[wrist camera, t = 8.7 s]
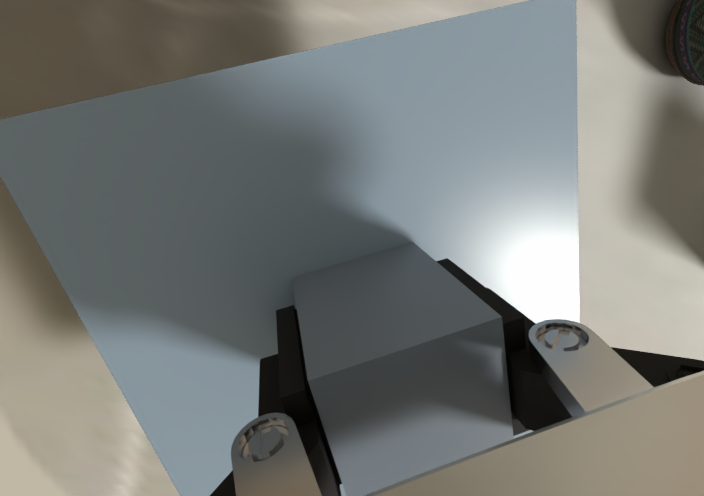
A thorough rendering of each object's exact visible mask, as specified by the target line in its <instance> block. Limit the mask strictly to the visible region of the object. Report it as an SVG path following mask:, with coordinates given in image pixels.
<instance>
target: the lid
mask: <svg viewBox="0 0 704 496" xmlns="http://www.w3.org/2000/svg"><path fill="white" fill-rule="evenodd" d="M0 177H1V179H2V181H3V182H4V184H5V186H6V188H7V189H8V191H9V193H10V195H11V197H12V198H13V200H14V202H15V204H16V205H17V207H18V209H19V211H20V213H21V214H22V216H23V218H24V220H25V221H26V223H27V225H28V227H29V229H30V230H31V232H32V234H33V236H34V237H35V239H36V241H37V243H38V244H39V246H40V248H41V250H42V252H43V253H44V255H45V257H46V259H47V260H48V262H49V264H50V266H51V268H52V269H53V271H54V273H55V275H56V276H57V278H58V280H59V282H60V283H61V285H62V287H63V289H64V291H65V292H66V294H67V296H68V298H69V299H70V301H71V303H72V305H73V307H74V308H75V310H76V312H77V314H78V315H79V317H80V319H81V321H82V323H83V324H84V326H85V328H86V330H87V331H88V333H89V335H90V337H91V338H92V340H93V342H94V344H95V346H96V347H97V349H98V351H99V353H100V354H101V356H102V358H103V360H104V362H105V363H106V365H107V367H108V369H109V370H110V372H111V374H112V376H113V377H114V379H115V381H116V383H117V385H118V386H119V388H120V390H121V392H122V393H123V395H124V397H125V399H126V401H127V402H128V404H129V406H130V408H131V409H132V411H133V413H134V415H135V417H136V418H137V420H138V422H139V424H140V425H141V427H142V429H143V431H144V432H145V434H146V436H147V438H148V440H149V441H150V443H151V445H152V447H153V448H154V450H155V452H156V454H157V456H158V457H159V459H160V461H161V463H162V464H163V466H164V468H165V470H166V471H167V473H168V475H169V477H170V479H171V480H172V482H173V484H174V486H175V487H176V489H177V491H178V493H179V495H180V496H210V495H211V494H212V493H213V491H214V490H215V489H216V488H217V487H218V486H219V485H220V484H221V482H222V481H223V480H224V479H225V478H226V477H227V476H228V475H229V474H230V472H231V471H232V470H233V468H232V461H231V446H232V444H233V441H234V439H235V437H236V436H237V434H238V433H239V432H240V430H241V429H242V428H243V427H245V426H246V425H247V424H248V423H249V422H251V421H252V420H254V419H256V418H257V417H258V406H259V373H260V360H261V359H262V358H266V357H269V356H272V355H275V354H278V342H277V320H276V310H279V309H282V308H285V307H288V306H292V305H294V307H295V309H297V314H298V320H299V327H300V333H301V340H302V346H303V353H304V359H305V366H306V372H307V378H308V383H309V386H310V389H311V392H312V395H313V398H314V401H315V404H316V407H317V410H318V413H319V416H320V419H321V422H322V425H323V428H324V431H325V434H326V437H327V440H328V443H329V446H330V449H331V452H332V455H333V457H334V460H335V463H336V466H337V469H338V472H339V475H340V478H341V481H342V484H340V490H341V495H342V496H363V495H366V494H368V493H371V492H374V491H376V490H379V489H381V488H384V487H387V486H389V485H392V484H395V483H397V482H400V481H403V480H405V479H408V478H410V477H413V476H416V475H418V474H421V473H424V472H426V471H429V470H432V469H434V468H437V467H440V466H442V465H445V464H448V463H450V462H453V461H456V460H458V459H461V458H464V457H466V456H469V455H472V454H474V453H477V452H480V451H482V450H485V449H488V448H490V447H493V446H496V445H498V444H501V443H504V442H507V441H509V440H512V439H515V438H517V437H520V436H523V435H525V434H528V433H531V432H533V431H532V430H529V431H526V432H523V433H521V434H518V435H515V436H513V427H512V416H511V406H510V396H509V385H508V375H507V364H506V354H505V343H504V333H503V323H502V316H500V315H499V314H498V313H497V312H496V311H494V310H493V309H492V308H491V307H490V306H489V305H487V304H486V303H485V302H484V301H483V300H481V299H480V298H479V297H478V296H477V295H475V294H474V293H473V292H472V291H471V290H470V289H468V288H467V287H466V286H465V285H464V284H462V283H461V282H460V281H459V280H458V279H456V278H455V277H454V276H453V275H452V274H451V273H449V272H448V271H447V270H446V269H445V268H443V267H442V266H441V265H440V264H439V263H437V262H436V261H439V260H443V259H446V258H448V259H449V260H451V261H452V262H453V263H455V264H456V265H457V266H458V267H460V268H461V269H462V270H464V271H465V272H466V273H468V274H469V275H470V276H471V277H473V278H474V279H475V280H477V281H478V282H479V283H480V284H482V285H483V286H484V287H486V288H489V289H491V290H492V291H494V292H495V293H496V294H497V295H499V296H500V297H501V298H503V299H504V300H505V301H507V302H508V303H509V304H511V305H512V306H513V307H515V308H516V309H517V310H518V311H520V312H521V313H522V314H524V315H525V316H526V317H528V318H529V319H530V320H532V321H533V322H534V323H536V324H537V323H539V322H542V321H545V320H552V319H564V320H570V321H575V322H578V323H579V232H578V134H577V36H576V0H529V1H525V2H521V3H516V4H512V5H507V6H503V7H498V8H494V9H489V10H485V11H480V12H476V13H472V14H467V15H463V16H458V17H454V18H449V19H445V20H440V21H436V22H431V23H427V24H423V25H418V26H414V27H409V28H405V29H400V30H396V31H391V32H387V33H382V34H378V35H374V36H369V37H365V38H360V39H356V40H351V41H347V42H342V43H338V44H333V45H329V46H324V47H320V48H316V49H311V50H307V51H302V52H298V53H293V54H289V55H284V56H280V57H275V58H271V59H267V60H262V61H258V62H253V63H249V64H244V65H240V66H235V67H231V68H226V69H222V70H218V71H213V72H209V73H204V74H200V75H195V76H191V77H186V78H182V79H177V80H173V81H169V82H164V83H160V84H155V85H151V86H146V87H142V88H137V89H133V90H128V91H124V92H120V93H115V94H111V95H106V96H102V97H97V98H93V99H88V100H84V101H79V102H75V103H70V104H66V105H62V106H57V107H53V108H48V109H44V110H39V111H35V112H30V113H26V114H21V115H17V116H13V117H8V118H4V119H0Z"/></svg>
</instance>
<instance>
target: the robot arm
mask: <svg viewBox="0 0 704 496" xmlns="http://www.w3.org/2000/svg"><path fill="white" fill-rule="evenodd" d="M436 262H437V263H439V264H440V265H441V266H442V267H443V268H445V269H446V270H447V271H448V272H449V273H451V274H452V275H453V276H454V277H455V278H456V279H458V280H459V281H460V282H461V283H462V284H464V285H465V286H466V287H467V288H468V289H470V290H471V291H472V292H473V293H474V294H475V295H477V296H478V297H479V298H480V299H481V300H483V301H484V302H485V303H486V304H487V305H489V306H490V307H491V308H492V309H493V310H494V311H496V312H497V313H498V314H499V315H500V316H502V323H503V333H504V343H505V354H506V364H507V375H508V385H509V396H510V406H511V416H512V427H513V436H515V435H518V434H521V433H523V432H526V431H529V430H532V431H533V432H531V433H528V434H525V435H523V436H520V437H517V438H515V439H512V440H509V441H507V442H504V443H501V444H498V445H496V446H493V447H490V448H488V449H485V450H482V451H480V452H477V453H474V454H472V455H469V456H466V457H464V458H461V459H458V460H456V461H453V462H450V463H448V464H445V465H442V466H440V467H437V468H434V469H432V470H429V471H426V472H424V473H421V474H418V475H416V476H413V477H410V478H408V479H405V480H403V481H400V482H397V483H395V484H392V485H389V486H387V487H384V488H381V489H379V490H376V491H374V492H371V493H368V494H366V495H363V496H704V361H701V360H696V359H689V358H682V357H675V356H668V355H661V354H654V353H647V352H640V351H633V350H626V349H619V348H612V347H610V346H609V345H607V344H606V343H605V342H604V341H603V340H602V339H601V338H600V337H599V336H598V335H597V334H595V333H594V332H593V331H592V330H591V329H589V328H588V327H586V326H585V325H583V324H580V323H578V322H575V321H570V320H564V319H552V320H545V321H542V322H539V323H537V324H536V323H534V322H533V321H532V320H530V319H529V318H528V317H526V316H525V315H524V314H522V313H521V312H520V311H518V310H517V309H516V308H515V307H513V306H512V305H511V304H509V303H508V302H507V301H505V300H504V299H503V298H501V297H500V296H499V295H497V294H496V293H495V292H494V291H492V290H491V289H489V288H486V287H484V286H483V285H482V284H480V283H479V282H478V281H477V280H475V279H474V278H473V277H471V276H470V275H469V274H468V273H466V272H465V271H464V270H462V269H461V268H460V267H458V266H457V265H456V264H455V263H453V262H452V261H451V260H449V259H448V258H446V259H443V260H439V261H436ZM276 320H277V342H278V354H275V355H272V356H269V357H266V358H262V359H261V360H260V373H259V406H258V417H257V418H256V419H254V420H252V421H251V422H249V423H248V424H247V425H246V426H245V427H243V428H242V429H241V430H240V432H239V433H238V434H237V436H236V437H235V439H234V441H233V444H232V446H231V461H232V468H233V470H232V471H231V472H230V474H229V475H228V476H227V477H226V478H225V479H224V480H223V481H222V482H221V484H220V485H219V486H218V487H217V488H216V489H215V490H214V491H213V493H212V494H211V495H210V496H342V495H341V490H340V484H342V481H341V478H340V475H339V472H338V469H337V466H336V463H335V460H334V457H333V455H332V452H331V449H330V446H329V443H328V440H327V437H326V434H325V431H324V428H323V425H322V422H321V419H320V416H319V413H318V410H317V407H316V404H315V401H314V398H313V395H312V392H311V389H310V386H309V383H308V378H307V372H306V366H305V359H304V353H303V346H302V340H301V333H300V327H299V320H298V314H297V309H295V307H294V305H292V306H288V307H285V308H282V309H279V310H276Z"/></svg>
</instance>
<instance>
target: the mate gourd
mask: <svg viewBox="0 0 704 496" xmlns="http://www.w3.org/2000/svg"><path fill="white" fill-rule="evenodd" d="M665 45H666V50H667V54H668V56H669V59H670V61H671V65H673V67H674V68H675V70H676V71H677V72H678V73H679V74H680V75H681V76H683V77H684V78H685V79H687V80H688V81H690V82H692V83H694V84H697V85H703V86H704V0H678V1H677V3H676V4H675V6H674V8H673V11H672V13H671V16H670V18H669V22H668V24H667V29H666V37H665Z"/></svg>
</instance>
